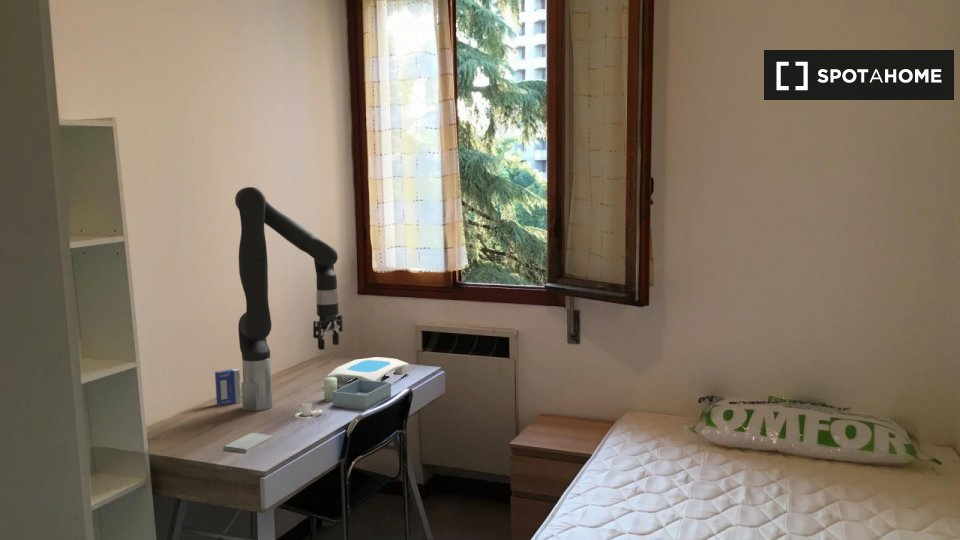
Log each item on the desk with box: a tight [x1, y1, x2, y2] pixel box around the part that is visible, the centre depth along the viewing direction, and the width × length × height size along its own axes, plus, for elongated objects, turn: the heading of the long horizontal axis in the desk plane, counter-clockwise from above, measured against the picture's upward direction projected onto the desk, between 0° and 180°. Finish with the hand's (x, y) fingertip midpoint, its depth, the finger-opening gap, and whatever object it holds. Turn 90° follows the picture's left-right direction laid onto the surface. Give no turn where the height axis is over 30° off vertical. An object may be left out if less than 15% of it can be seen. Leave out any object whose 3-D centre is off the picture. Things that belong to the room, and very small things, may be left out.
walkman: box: [214, 368, 242, 407], centre depth 257 cm, size 8×3×12 cm, turn 123°
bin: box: [332, 379, 392, 411], centre depth 259 cm, size 17×13×5 cm
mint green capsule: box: [323, 376, 338, 402], centre depth 261 cm, size 5×5×8 cm
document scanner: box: [326, 356, 410, 389], centre depth 285 cm, size 21×28×6 cm
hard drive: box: [222, 432, 274, 454], centre depth 218 cm, size 2×8×12 cm
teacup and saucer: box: [294, 402, 323, 420], centre depth 244 cm, size 9×8×4 cm
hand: (328, 347), depth 261 cm, fingers open, 8 cm apart
